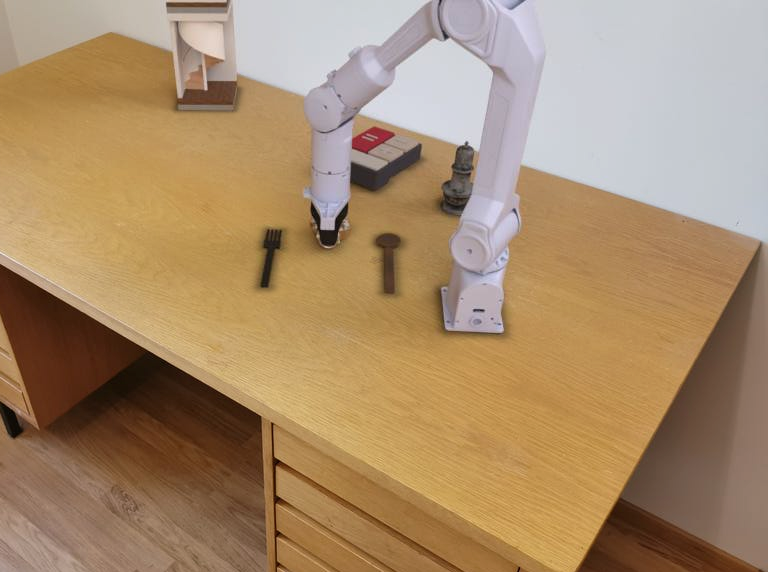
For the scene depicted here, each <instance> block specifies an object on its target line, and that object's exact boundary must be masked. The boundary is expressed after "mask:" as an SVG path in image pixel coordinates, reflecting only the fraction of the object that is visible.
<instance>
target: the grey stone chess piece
mask: <svg viewBox="0 0 768 572" xmlns="http://www.w3.org/2000/svg"><path fill="white" fill-rule="evenodd" d="M474 158H475V149H474V147H473V146H471V145H469V141H468V140H466V141H465V142H464V144H461V145H460V146H458V147H457V148H456V150H455V156H454V161H453V163H452V164H451V170H452V172H451V178H450V179H448V180H446V181H444V182H442V183H441V191H442V195H443V198H444V199H443V200H442V201H441V202H440V209H441V210H442V211H443V212H444V213H446V214H449V215H453V216H461V215H462V213H463V211H464V209H465V207H466V205H467V203H468V201H469V199H470V197H471V193H472V188H473V182H471V179H472V177H471V176H472V172H474V171H475V166H474V165H473V164H474V163H473V162H474Z"/></svg>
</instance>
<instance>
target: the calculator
mask: <svg viewBox="0 0 768 572" xmlns="http://www.w3.org/2000/svg"><path fill="white" fill-rule="evenodd" d="M422 147H423V144H422V143H420V141H419V140H416V139H413V138H411V137H407V136H405V135H401V134H395V132H392V131H391V130H387V129H384V128H382V127H381V128H380V127H378V126H376V125H375V126H372V127H370V128H369V129H367V130H364V131H363V132H361V133H359V134H358V135H356V136H354V137H352V151H351V171H350V183H353V184H356V185H359V186H361V187H363V188H366V189H369V190H371V191H378V190H379V189H381V188H383V187H384V186H385V185H387V184H388V183H389V181H390V180H391V179H392V178H394V176H396V175H398V174H400V173H401V172H403V171H404V170H405V169H407V168H409V167H410V166H411V165H413V164H415V163H416V162H418V161H420V159H421V154H422Z"/></svg>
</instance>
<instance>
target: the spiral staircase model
mask: <svg viewBox="0 0 768 572" xmlns="http://www.w3.org/2000/svg"><path fill="white" fill-rule="evenodd" d="M233 1H234V0H165V8H166V17H167V21H168V23H169V31H170V40H171V51H172V58H173V59H172V60H173V67H174V77H175V84H176V94H177V100H176V103H177V110H178V111H234V108H235V103H236V99H237V94H238V89H239V88H238V74H237V55H236V37H235V20H234V3H233Z"/></svg>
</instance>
